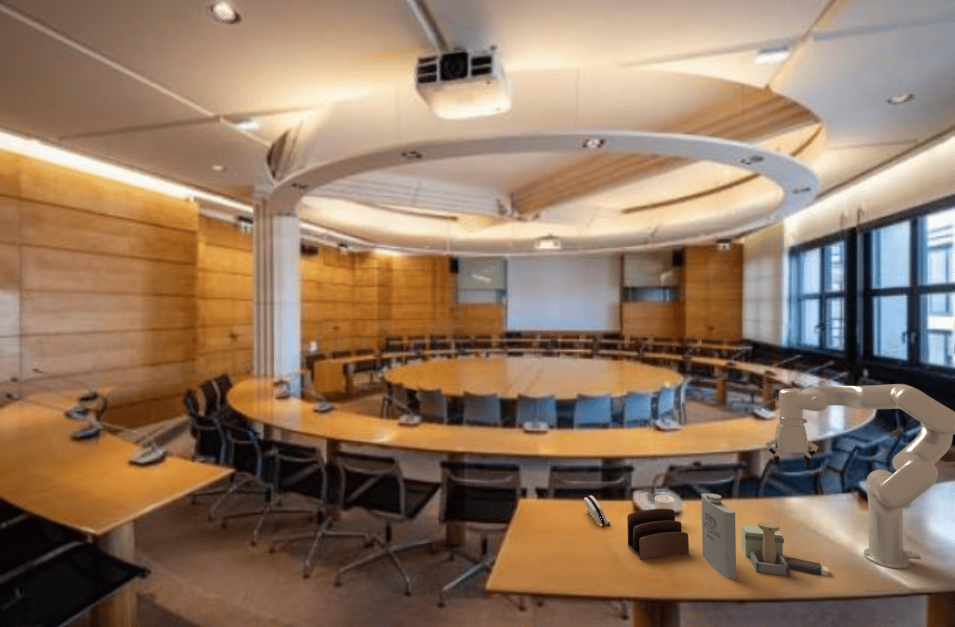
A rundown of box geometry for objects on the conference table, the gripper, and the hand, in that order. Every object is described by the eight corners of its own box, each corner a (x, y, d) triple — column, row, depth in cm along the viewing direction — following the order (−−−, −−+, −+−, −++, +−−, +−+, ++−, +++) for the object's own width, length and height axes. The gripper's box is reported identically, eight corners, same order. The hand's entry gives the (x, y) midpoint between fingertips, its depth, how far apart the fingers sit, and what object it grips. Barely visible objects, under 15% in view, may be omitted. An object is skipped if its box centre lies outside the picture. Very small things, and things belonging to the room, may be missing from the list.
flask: (698, 553, 184) (697, 486, 184) (710, 552, 184) (709, 486, 184) (725, 579, 166) (723, 505, 166) (738, 578, 167) (736, 504, 166)
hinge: (611, 526, 208) (603, 504, 208) (601, 530, 208) (593, 508, 207) (598, 510, 225) (590, 490, 225) (589, 514, 225) (581, 494, 224)
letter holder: (627, 547, 190) (626, 510, 190) (674, 541, 194) (673, 506, 194) (640, 560, 181) (639, 521, 180) (689, 554, 184) (688, 516, 184)
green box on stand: (778, 552, 183) (778, 528, 183) (793, 576, 167) (792, 549, 167) (741, 548, 187) (741, 525, 187) (752, 571, 171) (752, 545, 171)
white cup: (676, 520, 212) (676, 497, 212) (672, 527, 206) (672, 503, 206) (657, 516, 217) (657, 493, 216) (653, 523, 210) (652, 500, 210)
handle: (757, 562, 177) (756, 520, 177) (778, 564, 175) (777, 522, 174) (760, 569, 172) (759, 526, 172) (781, 571, 170) (780, 528, 170)
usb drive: (786, 562, 177) (786, 555, 177) (827, 571, 170) (827, 563, 170) (786, 569, 172) (786, 561, 172) (828, 578, 166) (828, 570, 166)
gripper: (813, 420, 189) (814, 465, 189) (762, 418, 193) (763, 462, 194) (821, 425, 181) (821, 471, 182) (768, 423, 186) (769, 468, 186)
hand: (791, 466), depth 188 cm, fingers open, 9 cm apart
